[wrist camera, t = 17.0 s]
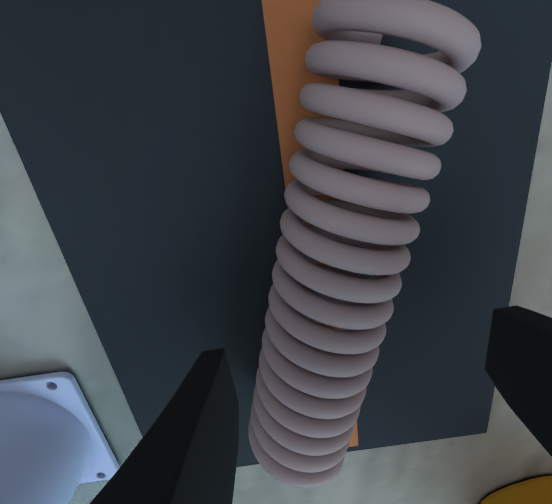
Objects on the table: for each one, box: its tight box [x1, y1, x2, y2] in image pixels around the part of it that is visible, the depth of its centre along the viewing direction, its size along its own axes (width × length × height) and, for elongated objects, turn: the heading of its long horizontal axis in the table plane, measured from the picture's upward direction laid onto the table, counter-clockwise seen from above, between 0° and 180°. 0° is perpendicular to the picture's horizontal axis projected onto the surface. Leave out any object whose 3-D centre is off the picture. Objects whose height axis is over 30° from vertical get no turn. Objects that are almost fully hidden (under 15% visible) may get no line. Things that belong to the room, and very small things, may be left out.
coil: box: [248, 0, 481, 488], centre depth 12 cm, size 5×5×18 cm
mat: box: [0, 0, 552, 467], centre depth 15 cm, size 20×26×1 cm
